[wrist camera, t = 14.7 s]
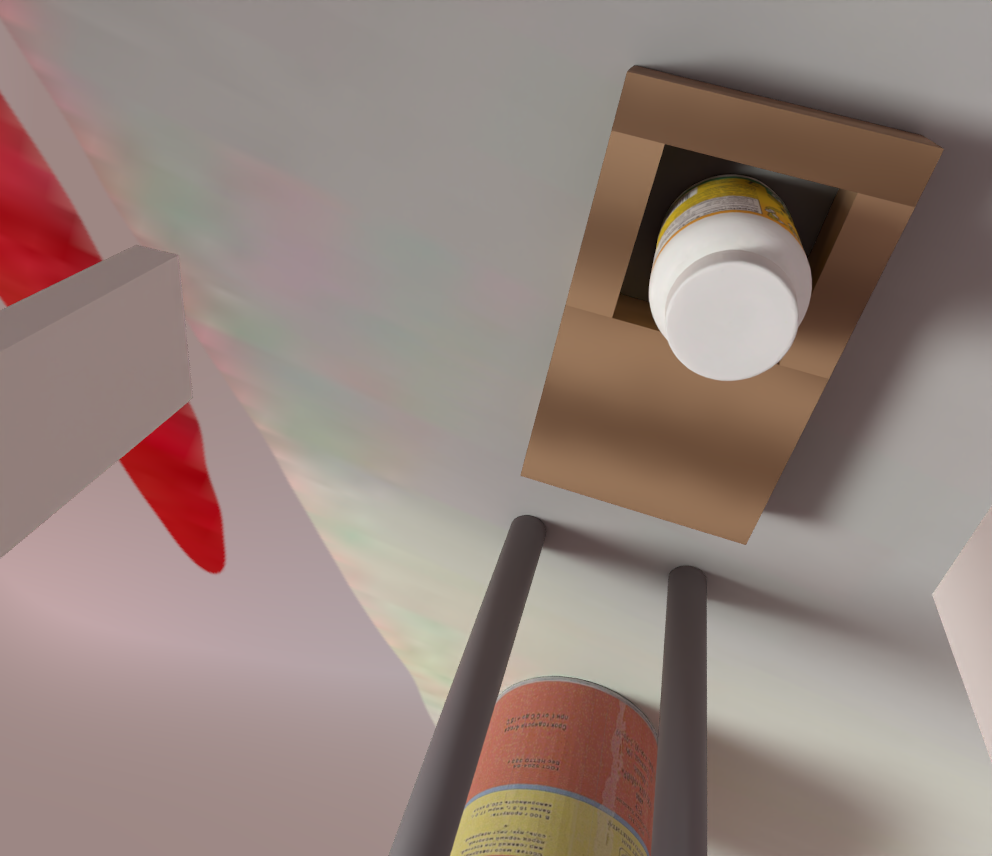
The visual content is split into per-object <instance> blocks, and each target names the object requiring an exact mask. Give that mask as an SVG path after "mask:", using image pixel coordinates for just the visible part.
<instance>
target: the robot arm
mask: <svg viewBox="0 0 992 856" xmlns="http://www.w3.org/2000/svg"><path fill="white" fill-rule="evenodd" d="M192 398H193V393H192V383H191V373H190V363H189V354H188V344H187V334H186V324H185V314H184V305H183V295H182V285H181V275H180V265H179V256H178V255H177V254H172V253H168V252H164V251H160V250H156V249H152V248H147V247H143V246H139V245H135V246H133V247H131V248H128V249H126V250H124V251H122V252H120V253H118V254H116V255H114V256H112V257H110V258H108V259H106V260H104V261H101V262H99V263H97V264H95V265H93V266H91V267H89V268H87V269H85V270H83V271H81V272H79V273H77V274H75V275H73V276H71V277H68V278H66V279H64V280H62V281H60V282H58V283H56V284H54V285H52V286H50V287H48V288H46V289H44V290H42V291H40V292H37V293H35V294H33V295H31V296H29V297H27V298H25V299H23V300H21V301H19V302H17V303H15V304H13V305H11V306H9V307H6V308H4V309H2V310H0V558H1V557H3V556H4V555H5V554H6V553H8V552H9V551H10V550H11V549H12V548H14V547H15V546H16V545H17V544H18V543H20V542H21V541H22V540H23V539H24V538H25V537H27V536H28V535H29V534H30V533H32V532H33V531H34V530H35V529H36V528H37V527H39V526H40V525H41V524H42V523H44V522H45V521H46V520H47V519H48V518H49V517H51V516H52V515H53V514H54V513H56V512H57V511H58V510H59V509H60V508H61V507H62V506H64V505H65V504H66V503H67V502H69V501H70V500H71V499H72V498H74V497H75V496H76V495H77V494H78V493H79V492H81V491H82V490H83V489H84V488H85V487H87V486H88V485H89V484H90V483H91V482H93V481H94V480H95V479H96V478H97V477H99V476H100V475H101V474H102V473H103V472H105V471H106V470H107V469H108V468H109V467H111V466H112V465H113V464H114V463H115V462H117V461H118V460H119V459H120V458H121V457H123V456H124V455H125V454H126V453H127V452H129V451H130V450H131V449H132V448H133V447H135V446H136V445H137V444H138V443H139V442H141V441H142V440H143V439H144V438H145V437H147V436H148V435H149V434H150V433H151V432H153V431H154V430H155V429H156V428H157V427H159V426H160V425H161V424H162V423H163V422H165V421H166V420H167V419H168V418H169V417H171V416H172V415H173V414H174V413H175V412H177V411H178V410H179V409H180V408H181V407H183V406H184V405H185V404H186V403H187V402H189V401H190V400H191V399H192ZM932 596H933V599H934V601H935V604H936V607H937V610H938V613H939V616H940V618H941V621H942V624H943V627H944V630H945V632H946V635H947V638H948V641H949V644H950V646H951V649H952V652H953V655H954V658H955V661H956V663H957V666H958V669H959V672H960V675H961V677H962V680H963V683H964V686H965V689H966V691H967V694H968V697H969V700H970V703H971V706H972V708H973V711H974V714H975V717H976V720H977V722H978V725H979V728H980V731H981V734H982V736H983V739H984V742H985V745H986V748H987V751H988V753H989V756H990V759H991V762H992V506H991V508H990V509H989V511H988V512H987V514H986V515H985V517H984V518H983V520H982V521H981V523H980V524H979V526H978V527H977V529H976V530H975V532H974V533H973V535H972V536H971V537H970V539H969V540H968V542H967V543H966V545H965V546H964V548H963V549H962V551H961V552H960V554H959V555H958V557H957V558H956V560H955V561H954V563H953V564H952V566H951V567H950V569H949V570H948V572H947V573H946V575H945V576H944V578H943V579H942V581H941V582H940V584H939V585H938V587H937V588H936V590H935V591H934V593H933V594H932Z"/></svg>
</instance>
